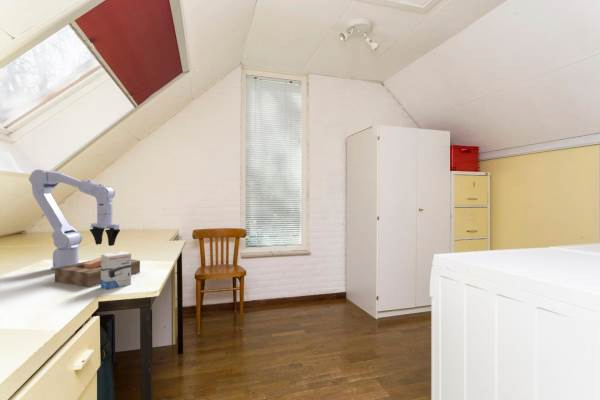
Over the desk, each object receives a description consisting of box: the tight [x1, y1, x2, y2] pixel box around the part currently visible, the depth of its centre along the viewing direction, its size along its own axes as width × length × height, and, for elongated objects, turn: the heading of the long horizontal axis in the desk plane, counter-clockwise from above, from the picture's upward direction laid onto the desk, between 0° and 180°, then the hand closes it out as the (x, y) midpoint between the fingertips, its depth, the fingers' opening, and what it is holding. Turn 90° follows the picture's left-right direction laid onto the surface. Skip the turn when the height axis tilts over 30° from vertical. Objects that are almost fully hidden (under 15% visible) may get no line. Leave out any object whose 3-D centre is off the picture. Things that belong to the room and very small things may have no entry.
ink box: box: [100, 250, 132, 290], centre depth 112 cm, size 8×5×12 cm, turn 143°
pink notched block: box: [83, 257, 101, 269], centre depth 123 cm, size 4×10×6 cm, turn 161°
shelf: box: [54, 259, 141, 288], centre depth 123 cm, size 18×22×5 cm
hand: (105, 244), depth 135 cm, fingers open, 7 cm apart
